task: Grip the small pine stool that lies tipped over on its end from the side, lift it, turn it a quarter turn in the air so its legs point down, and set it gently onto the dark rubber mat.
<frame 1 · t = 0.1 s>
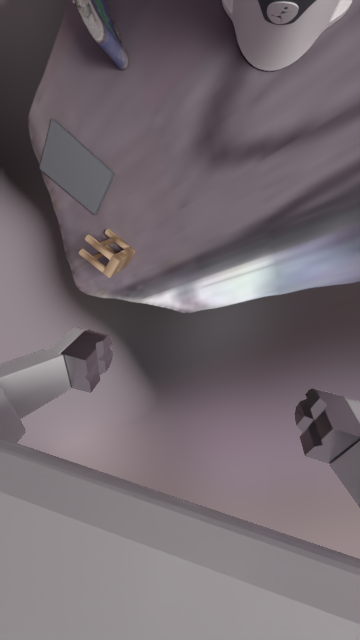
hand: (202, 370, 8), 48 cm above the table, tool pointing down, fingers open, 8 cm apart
stool: (120, 261, 54), point 5 cm above the table
mat: (77, 171, 49), on the table
flask: (112, 37, 37), on the table
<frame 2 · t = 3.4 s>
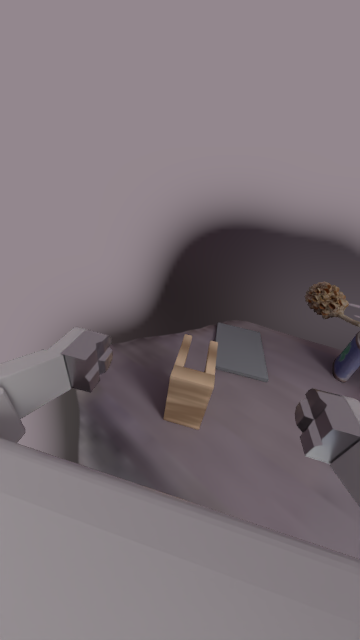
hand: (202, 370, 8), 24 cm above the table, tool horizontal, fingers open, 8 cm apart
pine cone: (326, 320, 66), on the table
stool: (187, 399, 29), point 5 cm above the table
mat: (238, 349, 47), on the table
flask: (339, 370, 47), on the table
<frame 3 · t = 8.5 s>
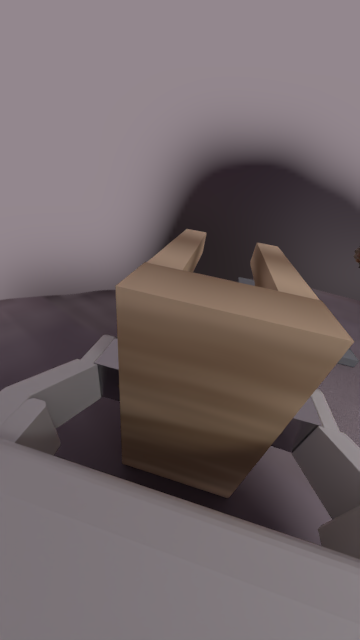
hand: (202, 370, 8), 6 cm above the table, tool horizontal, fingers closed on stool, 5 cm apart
stool: (195, 403, 8), point 5 cm above the table, touching gripper
mat: (279, 312, 27), on the table
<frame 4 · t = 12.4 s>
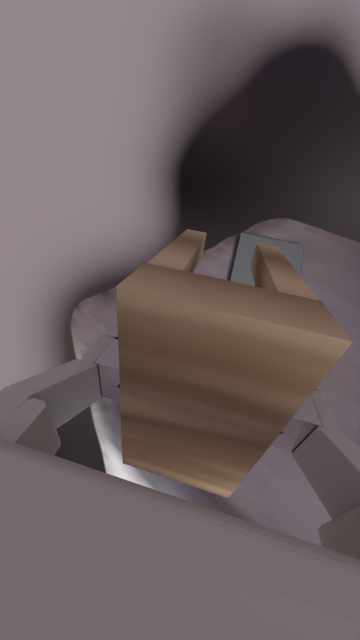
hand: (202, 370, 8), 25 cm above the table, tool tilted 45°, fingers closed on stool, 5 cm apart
stool: (195, 403, 8), point 25 cm above the table, tilted 44°, touching gripper
mat: (262, 281, 35), on the table
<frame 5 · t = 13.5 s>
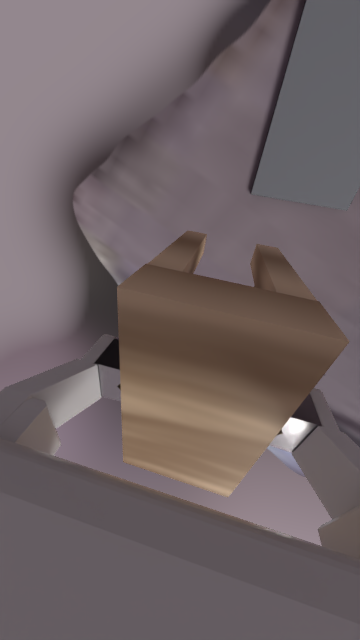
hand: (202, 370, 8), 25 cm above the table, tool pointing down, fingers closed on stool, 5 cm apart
stool: (194, 403, 8), point 26 cm above the table, tilted 90°, touching gripper
mat: (332, 110, 20), on the table
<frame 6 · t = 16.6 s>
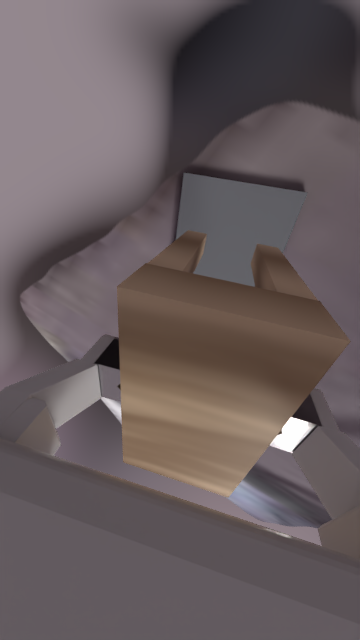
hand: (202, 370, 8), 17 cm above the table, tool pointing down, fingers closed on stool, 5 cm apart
stool: (195, 403, 8), point 18 cm above the table, tilted 90°, touching gripper
mat: (221, 266, 23), on the table
when the fingers open (10 cm above the table, at t = 18.8 s): stool drops 2 cm, resting on mat.
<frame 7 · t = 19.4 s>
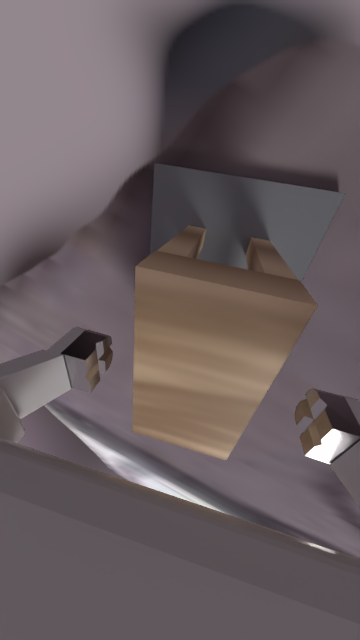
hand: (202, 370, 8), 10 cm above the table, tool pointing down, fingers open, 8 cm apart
stool: (196, 373, 10), point 9 cm above the table, tilted 90°, touching mat
mat: (214, 294, 17), on the table
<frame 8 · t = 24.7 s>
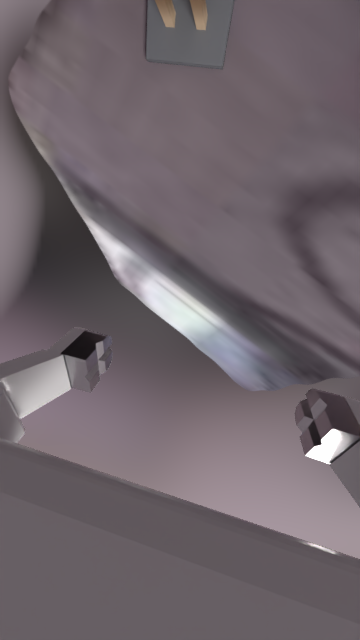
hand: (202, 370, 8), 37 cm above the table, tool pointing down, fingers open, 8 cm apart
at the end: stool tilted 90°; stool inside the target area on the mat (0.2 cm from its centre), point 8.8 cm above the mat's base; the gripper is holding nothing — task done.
